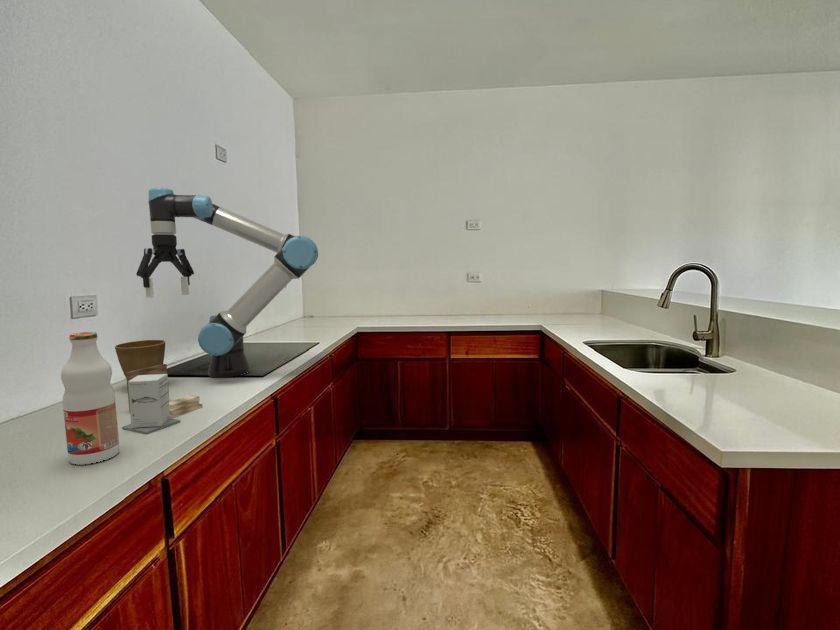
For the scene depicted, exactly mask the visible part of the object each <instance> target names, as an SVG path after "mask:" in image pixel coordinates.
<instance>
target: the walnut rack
mask: <svg viewBox="0 0 840 630" xmlns="http://www.w3.org/2000/svg"><path fill="white" fill-rule="evenodd" d="M155 374H168V366H167V363H163V364H162V365H157V366H153V367H148V368H144V369H139V370H135V371H130V372H126V377H125V379H126V378H127V379H126V386H127V399H128V401H127V402H128V408H129V410H128V412H129V414H130V402H129V388H128V381H130V380H131V379H133V378H135V377H136V376H138V375H155ZM169 390H170V389H168V392H169Z"/></svg>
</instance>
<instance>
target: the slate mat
mask: <svg viewBox="0 0 840 630" xmlns="http://www.w3.org/2000/svg"><path fill="white" fill-rule="evenodd" d="M179 423H181V419H176V418H169V419H168V420H167V421H166V422H165V423H164V424H163V425H162V426H159V427H158V426H155V427H138V428H131V423H129V424H125V425H123V426H121V428H122V430H125V431H129V432H134V433H140V434H143V435H149V434H151V433H154V432H157V431H160V430H162V429H163V430H164V429H165V428H168V427H171V426H173V425H176V424H179Z"/></svg>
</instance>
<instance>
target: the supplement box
mask: <svg viewBox="0 0 840 630" xmlns="http://www.w3.org/2000/svg"><path fill="white" fill-rule="evenodd" d="M168 376H169V375H168V373H167V374H155V375H138V376H136V377H135V378H133V379H131V380H130V381H128V388H129V401H128V403H129V402H130V413H129V415H130V424H131V428H138V427H155V426H158V427H159V426H162V425H163V424H164V423H165V422H166V421H167V420H168V419H169V418H170V409H169V402H170V394H169V392H168V390H169V377H168Z"/></svg>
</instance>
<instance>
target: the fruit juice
mask: <svg viewBox="0 0 840 630" xmlns="http://www.w3.org/2000/svg"><path fill="white" fill-rule="evenodd" d="M68 339H69V343H71V352H70V354H69V355H70V356H69V359H68V360H67V362H66V364H64V366H63V367H62V369H61V372H60V380H61V382H62V385H63V387H64V393H63V395H62V409H63V418H64V420H63V421H64V428H65V438H66V439H65V440H66V449H67V457H68V460H69V462H70V464H73V465H75V464H76V466H77V465H79V466H80V465H81V466H82V465H85V464H86V465H92V464H91V463H93V464H96V462H98V463H101V462H104V461H103V460H105V461H107V460H110V459H111V457H112V458H114V457H115V456H117V455H118V454H119V451H120V438H119V426H118V425H119V424H118V416H117V415H118V414H117V403H116V396H115V395H116V394H115V390H114V388H113V386H112V383H111V380H112V376H113V370H112V365H111V364H110V362H108V361H107V360H106V359H105V358H104V357H103V356H102V355H101V354H102V353H100V351H99V349H98V348H99V347H98V346H97V341H98V333H97V332H96V331H85V332H83V331H82V332H75V333H70V334H69V337H68ZM109 458H110V459H109ZM100 461H101V462H100Z"/></svg>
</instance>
